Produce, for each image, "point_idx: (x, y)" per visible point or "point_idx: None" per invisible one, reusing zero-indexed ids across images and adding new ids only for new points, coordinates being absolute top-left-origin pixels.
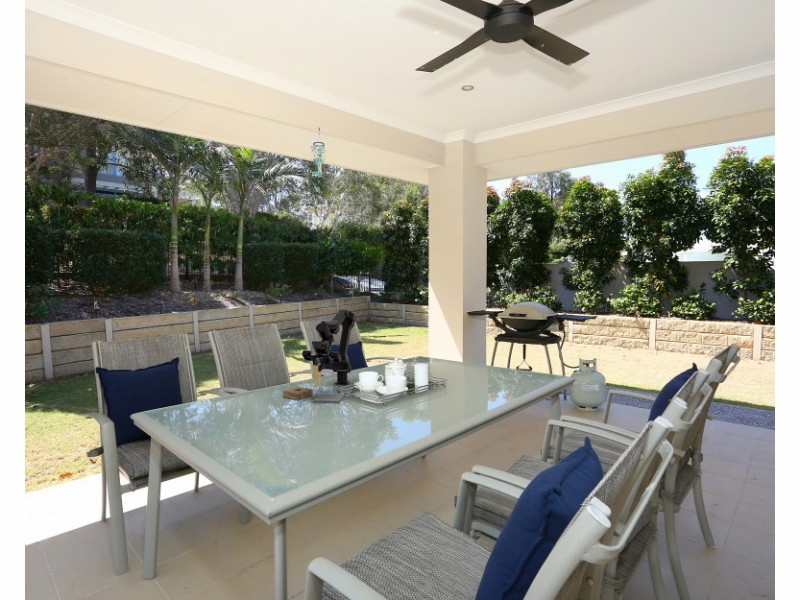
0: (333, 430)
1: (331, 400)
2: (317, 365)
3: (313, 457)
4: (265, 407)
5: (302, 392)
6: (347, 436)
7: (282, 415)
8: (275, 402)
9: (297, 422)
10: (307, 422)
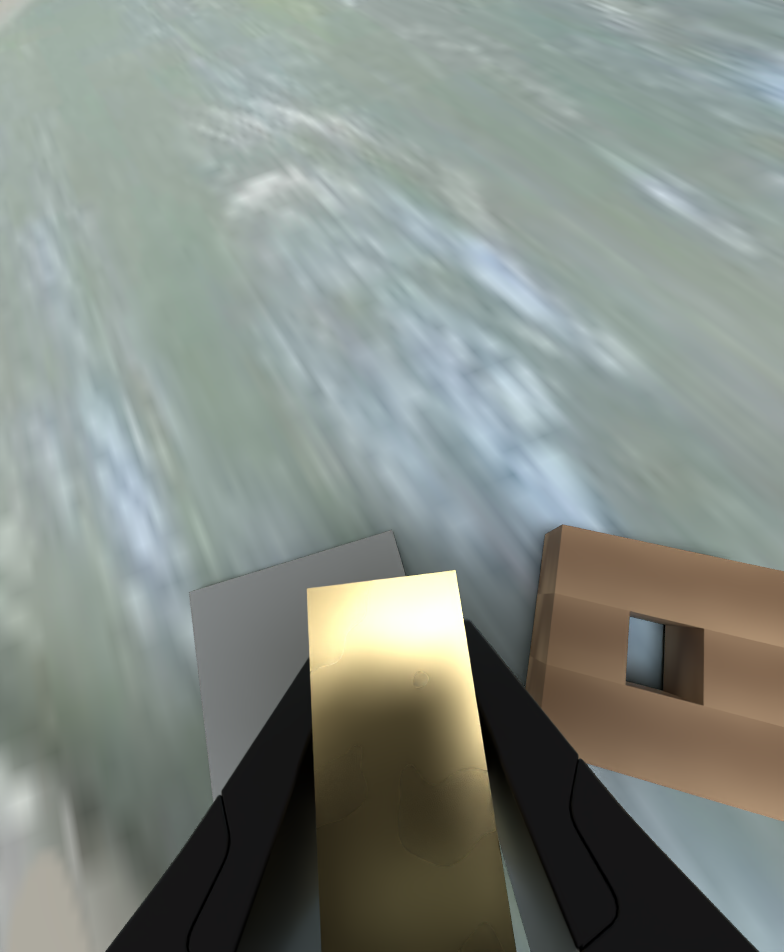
0: (94, 211)
1: (252, 578)
2: (338, 628)
3: (94, 46)
4: (632, 327)
5: (555, 588)
6: (23, 187)
7: (427, 262)
8: (665, 435)
9: (293, 221)
10: (246, 237)
